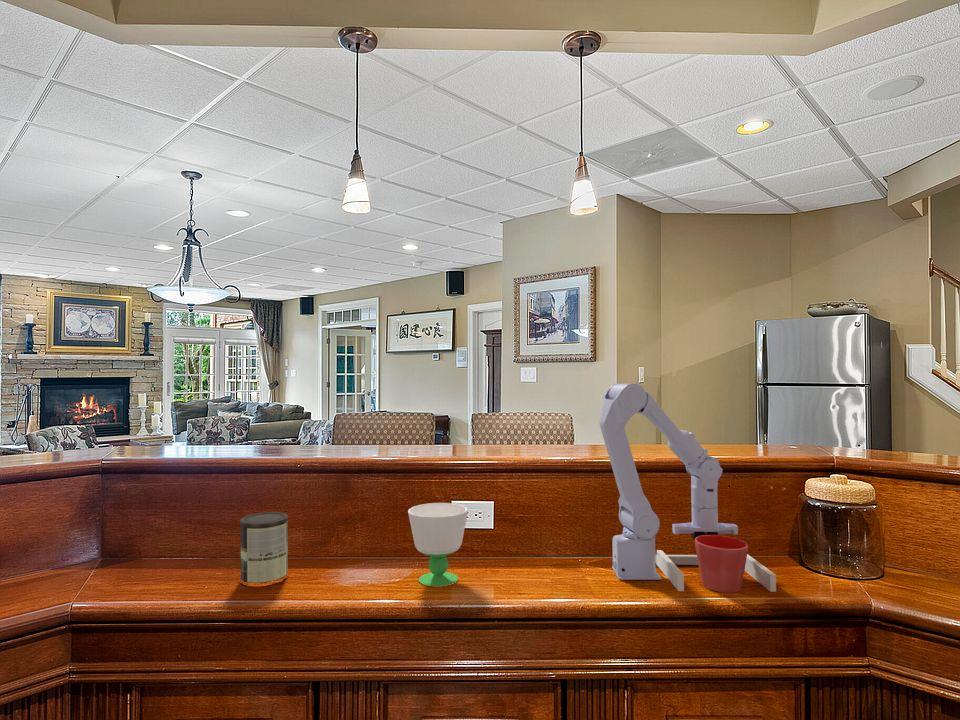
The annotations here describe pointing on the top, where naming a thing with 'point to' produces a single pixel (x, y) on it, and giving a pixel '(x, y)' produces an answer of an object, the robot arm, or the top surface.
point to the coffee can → (264, 547)
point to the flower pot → (721, 562)
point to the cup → (438, 537)
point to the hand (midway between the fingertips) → (705, 564)
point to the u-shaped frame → (677, 577)
